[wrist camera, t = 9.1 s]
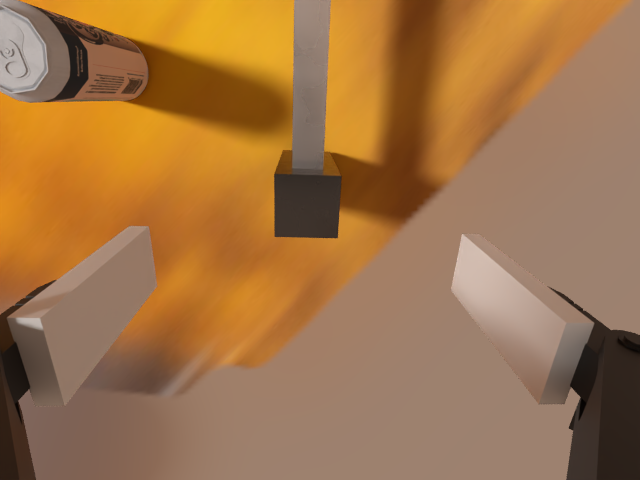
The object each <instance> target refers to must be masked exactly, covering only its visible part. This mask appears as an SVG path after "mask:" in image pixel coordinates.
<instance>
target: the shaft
mask: <svg viewBox="0 0 640 480" xmlns="http://www.w3.org/2000/svg"><path fill="white" fill-rule="evenodd" d="M330 2H331V0H295V1H294V75H293V148H292V150H283V152H282V155H281V157H280V160H279V163H278V166H277V168H276V171H275V174H274V190H275V237H308V238H338V224H339V208H340V192H341V174H340V172H339V170H338V168H337V166H336V164H335V162H334V160H333V158H332V156H331V154H330V152H324V138H325V115H326V93H327V70H328V48H329V25H330Z"/></svg>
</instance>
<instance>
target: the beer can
mask: <svg viewBox="0 0 640 480" xmlns="http://www.w3.org/2000/svg"><path fill="white" fill-rule="evenodd" d="M147 82H148V66H147V62H146V60H145V57H144V55H143V54H142V52H141V51H140V49H139V48H138V47H137V46H136V45H135V44H134V43H133V42H132V41H130V40H128V39H127V38H125V37H123V36H120V35H117V34H114V33H111V32H108V31H105V30H103V29H100V28H97V27H94V26H91V25H88V24H85V23H82V22H79V21H76V20H73V19H70V18H67V17H65V16H62V15H59V14H56V13H53V12H50V11H47V10H44V9H41V8H38V7H35V6H32V5H30V4H27V3H24V2H21V1H18V0H0V91H1V92H2V93H4V94H6V95H8V96H10V97H12V98H14V99H17V100H20V101H25V102H30V103H31V102H71V101H128V100H131V99H134V98H136V97H138V96H139V95H140V94H141V93H142V92H143V90H144V89H145V88H146V85H147Z"/></svg>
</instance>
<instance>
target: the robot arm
mask: <svg viewBox="0 0 640 480" xmlns="http://www.w3.org/2000/svg"><path fill="white" fill-rule="evenodd" d="M156 287H157V282H156V274H155V267H154V260H153V253H152V246H151V238H150V231H149V226H129V227H127V228H126V229H125V230H123V231H122V232H121V233H119V234H118V235H117V236H115V237H114V238H113V239H111V240H110V241H109V242H107V243H106V244H105V245H103V246H102V247H101V248H99V249H98V250H97V251H95V252H94V253H93V254H91V255H90V256H89V257H87V258H86V259H85V260H83V261H82V262H81V263H79V264H78V265H77V266H75V267H74V268H73V269H71V270H70V271H69V272H67V273H66V274H65V275H63V276H62V277H61V278H59V279H58V280H54V281H52V282H49V283H47V284H45V285H43V286H40V287H38V288H37V289H35V290H34V291H33V292H31V293H30V294H28V295H27V296H26V298H23V299H21V300H20V301H19V302H17V303H16V304H15V306H12V307H10V308H9V309H8V310H6V311H5V312H3V313H2V314H1V315H0V480H36V477H35V472H34V468H33V463H32V458H31V453H30V449H29V444H28V439H27V434H26V430H25V425H24V420H23V415H22V411H21V408H20V405H19V402H18V400H19V399H20V398H21V397H22V396H23V395H24V394H25V393H26V392H27V391H28V389H30V393H31V396H32V399H33V401H34V405H35V406H65V405H66V404H67V403H68V401H69V400H70V398H71V397H72V396H73V395H74V393H75V392H76V391H77V390H78V388H79V387H80V386H81V384H82V383H83V382H84V381H85V379H86V378H87V377H88V375H89V374H90V373H91V371H92V370H93V369H94V367H95V366H96V365H97V364H98V362H99V361H100V360H101V358H102V357H103V356H104V354H105V353H106V352H107V351H108V349H109V348H110V347H111V345H112V344H113V343H114V341H115V340H116V339H117V338H118V336H119V335H120V334H121V332H122V331H123V330H124V328H125V327H126V326H127V325H128V323H129V322H130V321H131V319H132V318H133V317H134V315H135V314H136V313H137V311H138V310H139V309H140V308H141V306H142V305H143V304H144V302H145V301H146V300H147V298H148V297H149V296H150V295H151V293H152V292H153V291H154V289H155V288H156ZM451 291H452V292H453V293H454V295H455V296H456V297H457V298H458V300H459V301H460V302H461V304H462V305H463V306H464V307H465V309H466V310H467V311H468V313H469V314H470V315H471V317H472V318H473V319H474V320H475V322H476V323H477V324H478V326H479V327H480V328H481V330H482V331H483V332H484V334H485V335H486V336H487V337H488V339H489V340H490V341H491V343H492V344H493V345H494V347H495V348H496V349H497V350H498V352H499V353H500V354H501V356H502V357H503V358H504V360H505V361H506V362H507V363H508V365H509V366H510V367H511V369H512V370H513V371H514V373H515V374H516V375H517V376H518V378H519V379H520V380H521V382H522V383H523V384H524V385H525V387H526V388H527V389H528V391H529V392H530V393H531V395H532V396H533V397H534V399H535V400H536V401H537V402H538V404H565V401H566V398H567V396H568V393H569V390H570V388H571V387H572V388H573V389H574V391H575V392H576V393H577V394H578V395H579V396H580V397H581V398H580V400H579V403H578V406H577V408H576V411H575V413H574V416H573V418H572V421H571V423H570V426H569V429H571V430H573V436H572V444H571V451H570V458H569V465H568V472H567V479H566V480H640V335H638V334H635V333H632V332H627V331H623V330H610V329H609V328H607V327H606V326H605V325H603V324H602V323H601V322H599V321H598V320H597V319H596V318H594V317H593V316H592V315H590V314H589V313H588V312H586V311H583V309H582V308H581V307H580V306H578V305H577V304H574V302H573V301H572V300H570V299H569V298H568V297H566V296H565V295H564V294H562V293H560V292H558V291H556V290H554V289H552V288H550V287H548V286H546V285H545V284H543V283H542V282H541V281H540V280H538V279H537V278H536V277H534V276H533V275H532V274H530V273H529V272H528V271H527V270H525V269H524V268H523V267H521V266H520V265H519V264H517V263H516V262H515V261H513V260H512V259H511V258H510V257H508V256H507V255H506V254H505V253H503V252H502V251H501V250H500V249H498V248H497V247H496V246H494V245H493V244H492V243H490V242H489V241H488V240H487V239H485V238H484V237H483V236H481V235H480V234H462V237H461V242H460V247H459V253H458V257H457V263H456V268H455V273H454V278H453V283H452V288H451Z"/></svg>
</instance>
